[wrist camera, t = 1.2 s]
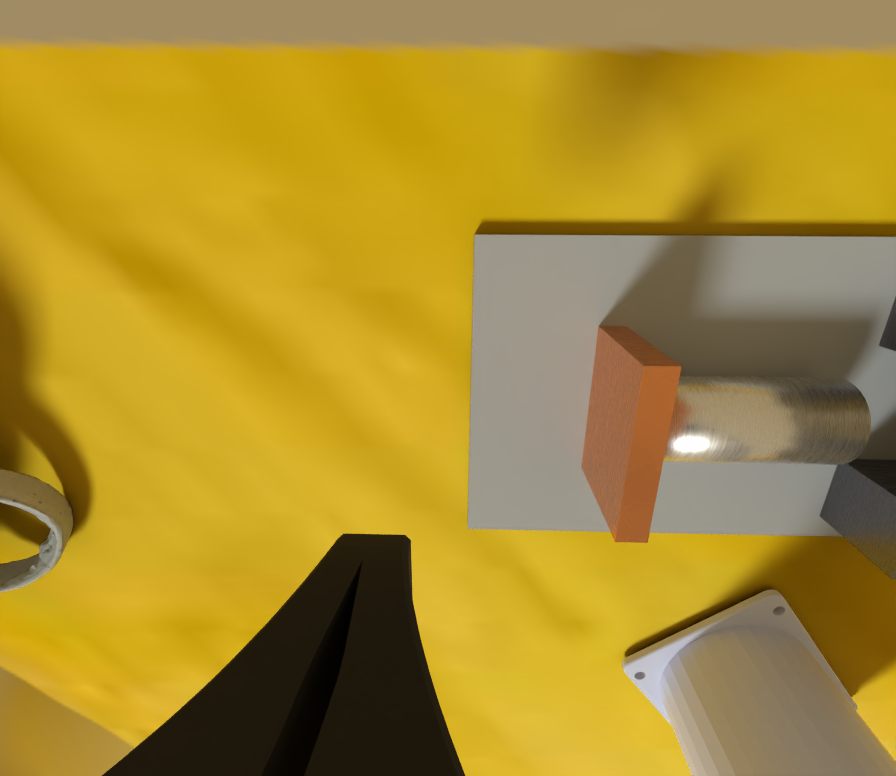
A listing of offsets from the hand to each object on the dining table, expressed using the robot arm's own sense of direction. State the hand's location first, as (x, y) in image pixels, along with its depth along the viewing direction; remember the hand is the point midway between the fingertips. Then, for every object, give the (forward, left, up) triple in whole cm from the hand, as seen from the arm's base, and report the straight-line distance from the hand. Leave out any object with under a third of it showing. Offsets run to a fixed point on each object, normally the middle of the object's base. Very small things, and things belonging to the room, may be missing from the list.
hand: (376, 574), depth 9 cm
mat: (-8, -10, -10) cm, 16 cm away
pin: (-7, -9, -9) cm, 14 cm away
